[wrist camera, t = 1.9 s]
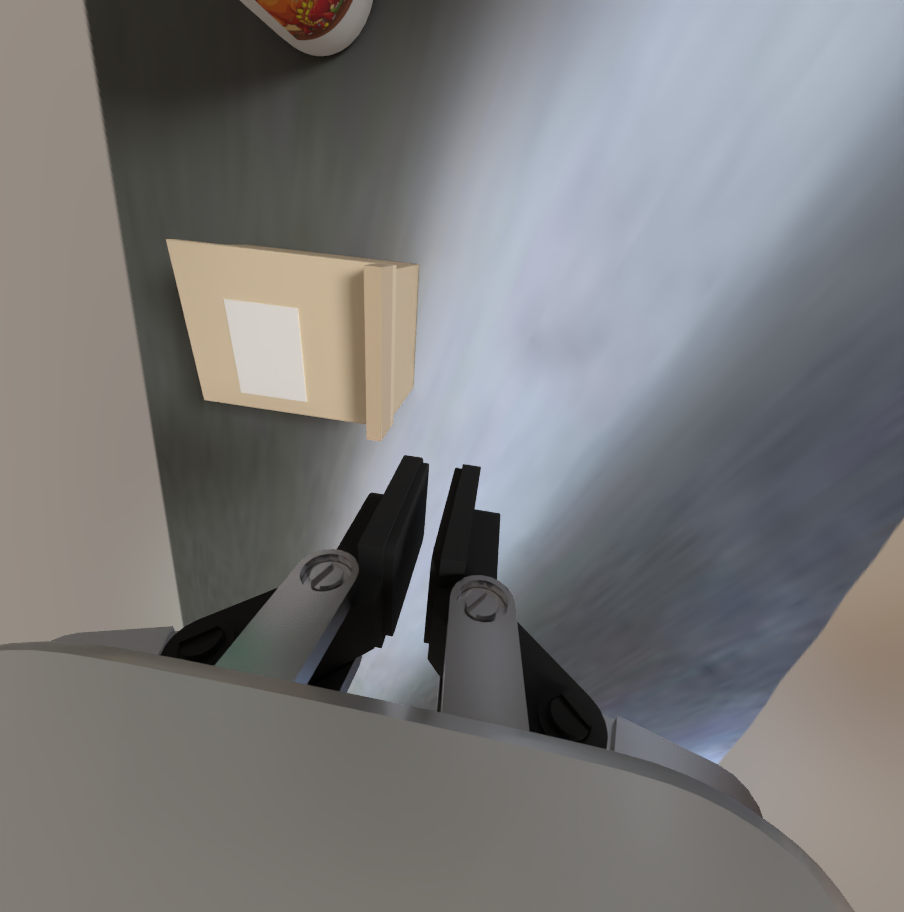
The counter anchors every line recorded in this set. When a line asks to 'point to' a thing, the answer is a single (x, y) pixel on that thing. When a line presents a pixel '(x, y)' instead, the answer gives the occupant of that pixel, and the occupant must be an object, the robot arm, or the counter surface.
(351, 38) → the milk bottle
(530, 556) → the counter surface
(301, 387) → the lid
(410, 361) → the mailer box
